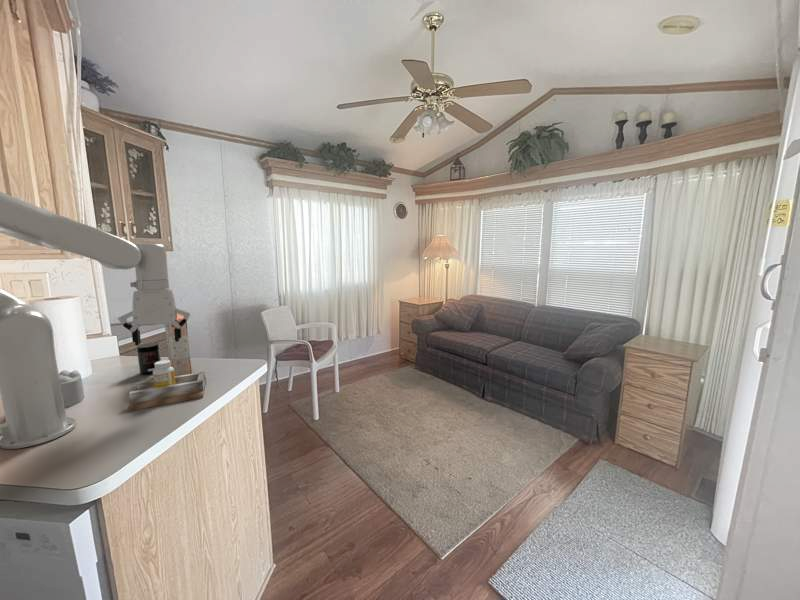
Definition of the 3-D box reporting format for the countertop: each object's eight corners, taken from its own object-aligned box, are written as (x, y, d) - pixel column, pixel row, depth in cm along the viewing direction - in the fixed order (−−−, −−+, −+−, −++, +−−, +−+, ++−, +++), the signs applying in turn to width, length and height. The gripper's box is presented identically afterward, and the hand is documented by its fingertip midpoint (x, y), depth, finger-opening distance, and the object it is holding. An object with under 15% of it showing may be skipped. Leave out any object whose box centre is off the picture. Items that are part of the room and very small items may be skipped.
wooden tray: (128, 410, 92) (126, 396, 91) (141, 392, 104) (139, 379, 103) (203, 397, 100) (201, 384, 99) (206, 381, 112) (205, 369, 111)
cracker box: (193, 375, 118) (187, 318, 115) (173, 379, 114) (166, 321, 111) (188, 365, 128) (181, 313, 125) (169, 369, 125) (162, 315, 122)
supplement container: (159, 367, 127) (155, 341, 125) (165, 371, 122) (161, 344, 121) (137, 372, 121) (133, 345, 120) (142, 376, 117) (139, 348, 116)
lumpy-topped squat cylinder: (31, 415, 90) (25, 385, 89) (38, 400, 100) (33, 372, 98) (83, 403, 97) (78, 375, 96) (85, 390, 106) (81, 364, 105)
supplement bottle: (162, 396, 97) (158, 365, 96) (151, 394, 99) (146, 364, 98) (180, 389, 102) (176, 360, 101) (169, 387, 104) (165, 358, 103)
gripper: (111, 287, 89) (117, 348, 91) (186, 285, 97) (190, 342, 99) (119, 285, 96) (125, 342, 98) (189, 284, 103) (193, 337, 105)
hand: (158, 342), depth 98 cm, fingers open, 9 cm apart
